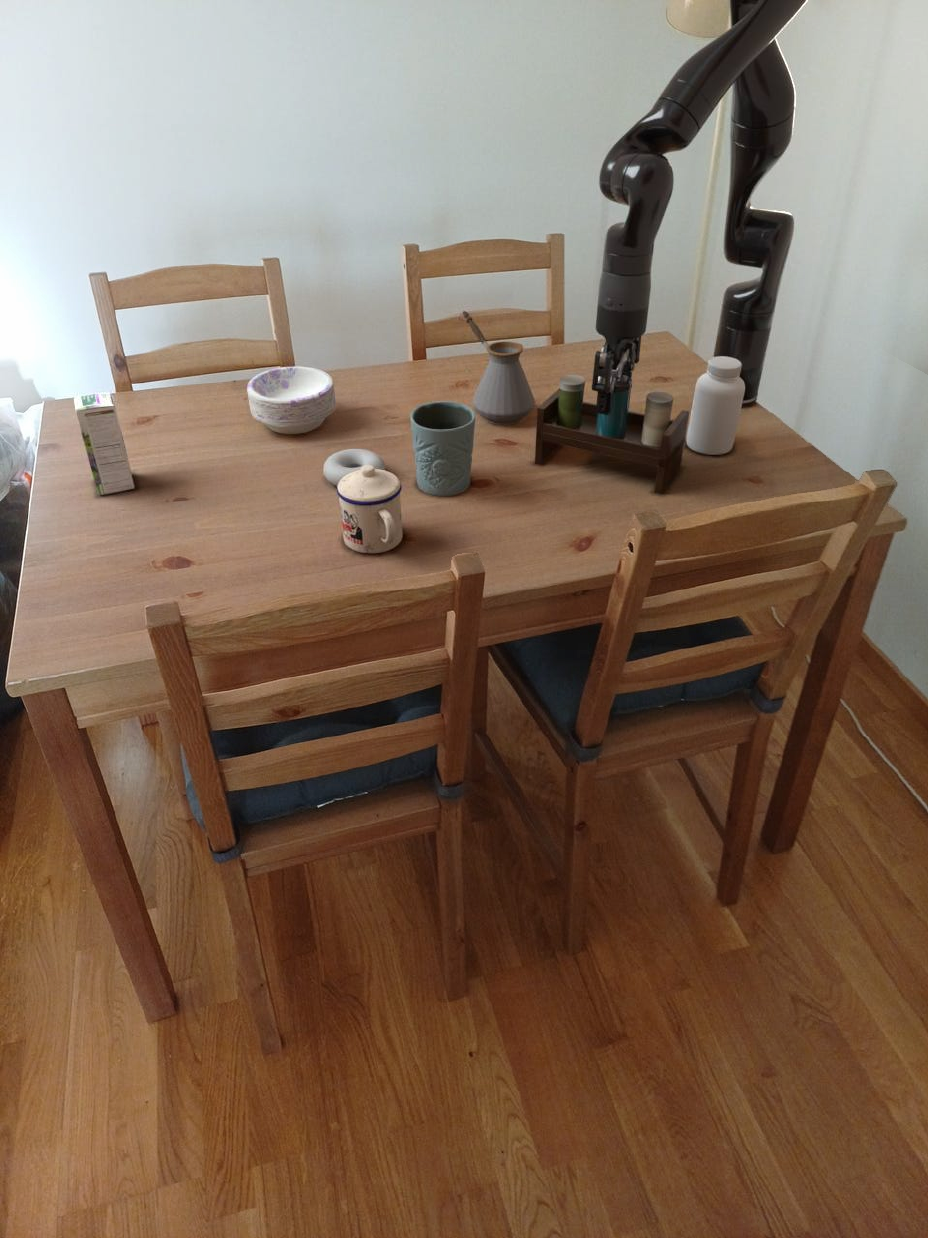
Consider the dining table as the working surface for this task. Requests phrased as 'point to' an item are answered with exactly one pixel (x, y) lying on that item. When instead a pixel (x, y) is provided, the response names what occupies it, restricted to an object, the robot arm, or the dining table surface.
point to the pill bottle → (716, 407)
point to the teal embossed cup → (443, 446)
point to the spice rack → (643, 442)
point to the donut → (349, 463)
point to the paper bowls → (291, 398)
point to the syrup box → (104, 442)
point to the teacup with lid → (370, 510)
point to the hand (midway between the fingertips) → (613, 403)
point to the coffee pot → (502, 383)
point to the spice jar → (616, 410)
